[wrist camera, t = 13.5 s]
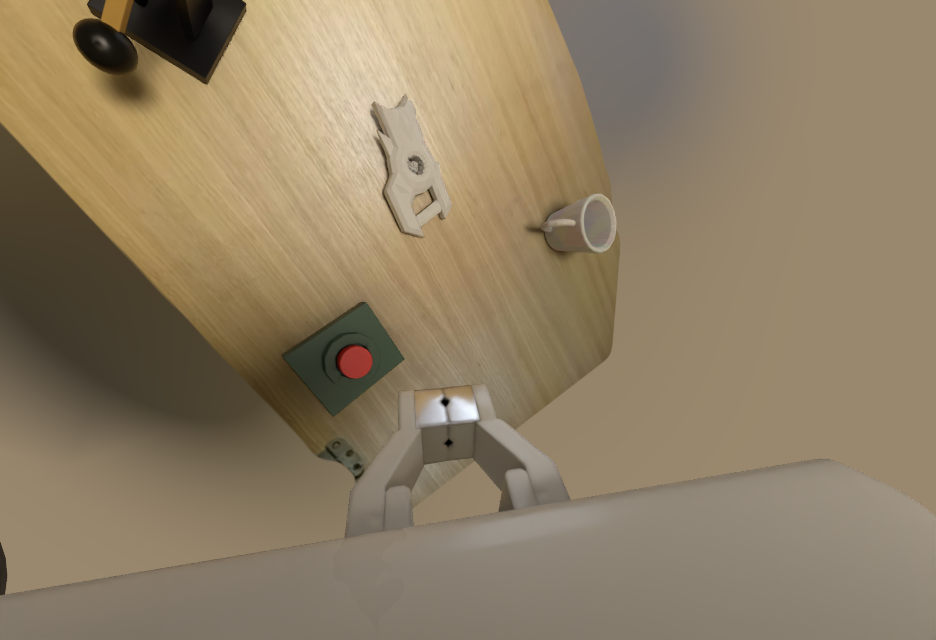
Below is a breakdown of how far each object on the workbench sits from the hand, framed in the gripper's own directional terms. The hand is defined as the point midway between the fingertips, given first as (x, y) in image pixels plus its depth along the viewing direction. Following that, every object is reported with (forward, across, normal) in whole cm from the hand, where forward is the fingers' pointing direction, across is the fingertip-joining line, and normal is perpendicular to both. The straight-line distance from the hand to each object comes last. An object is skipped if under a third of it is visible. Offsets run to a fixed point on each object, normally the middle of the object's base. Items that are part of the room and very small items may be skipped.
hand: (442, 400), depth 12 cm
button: (+27, +9, +20) cm, 34 cm away
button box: (+30, +10, +21) cm, 38 cm away
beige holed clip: (+45, 0, 0) cm, 45 cm away
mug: (+53, -27, +12) cm, 61 cm away
